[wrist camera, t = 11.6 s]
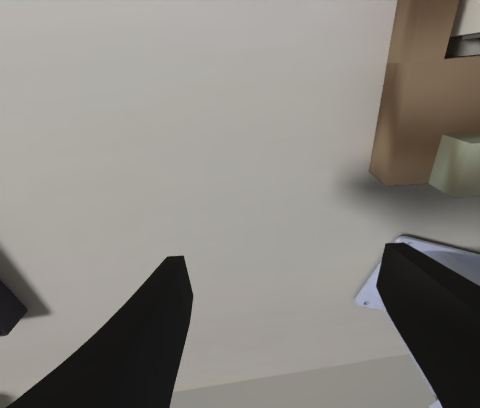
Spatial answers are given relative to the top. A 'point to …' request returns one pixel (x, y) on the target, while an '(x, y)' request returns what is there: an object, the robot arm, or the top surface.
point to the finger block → (467, 20)
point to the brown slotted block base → (428, 105)
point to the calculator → (9, 310)
